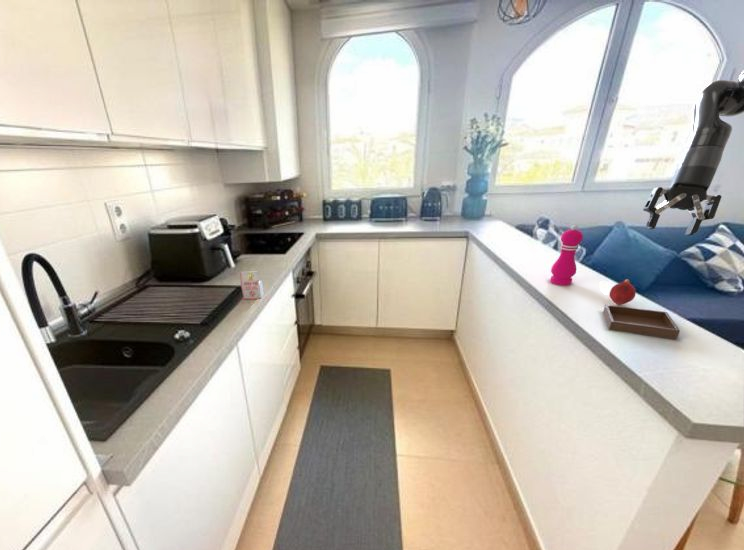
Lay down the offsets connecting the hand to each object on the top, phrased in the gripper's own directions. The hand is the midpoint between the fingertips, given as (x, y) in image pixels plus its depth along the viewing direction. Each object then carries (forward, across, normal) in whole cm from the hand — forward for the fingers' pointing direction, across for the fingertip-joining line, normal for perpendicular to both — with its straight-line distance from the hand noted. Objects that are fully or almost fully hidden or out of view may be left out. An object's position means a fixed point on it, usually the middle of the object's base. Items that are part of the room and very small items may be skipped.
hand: (669, 231), depth 92 cm
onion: (+22, -2, +6) cm, 23 cm away
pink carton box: (+47, -116, -6) cm, 125 cm away
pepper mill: (+19, -14, +22) cm, 32 cm away
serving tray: (+26, -2, -7) cm, 27 cm away
